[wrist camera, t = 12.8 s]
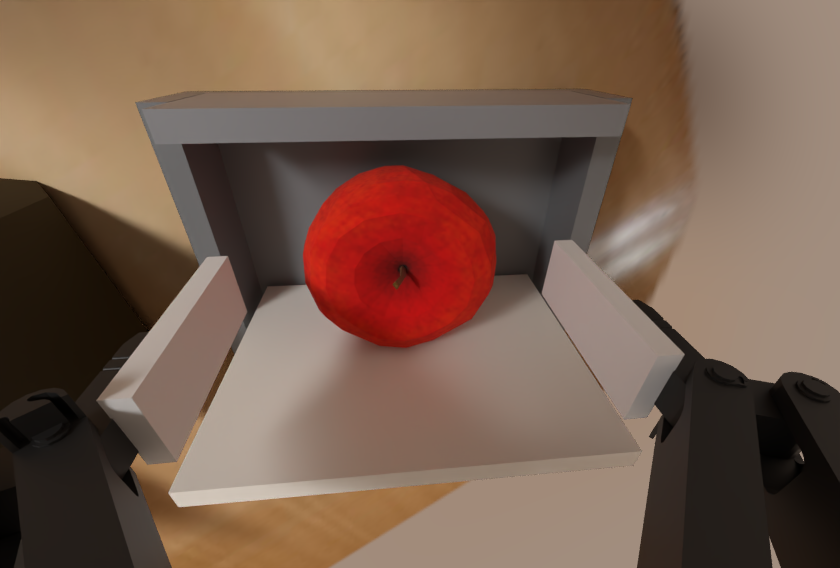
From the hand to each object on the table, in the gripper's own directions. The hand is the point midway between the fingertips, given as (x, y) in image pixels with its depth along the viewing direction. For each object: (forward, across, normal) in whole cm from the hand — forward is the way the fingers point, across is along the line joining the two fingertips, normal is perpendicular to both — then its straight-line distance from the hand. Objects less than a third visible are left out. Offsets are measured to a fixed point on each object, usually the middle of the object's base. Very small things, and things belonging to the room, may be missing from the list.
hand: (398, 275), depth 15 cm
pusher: (+7, 0, -8) cm, 11 cm away
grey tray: (+9, 0, -4) cm, 10 cm away
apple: (+8, 0, -1) cm, 8 cm away
